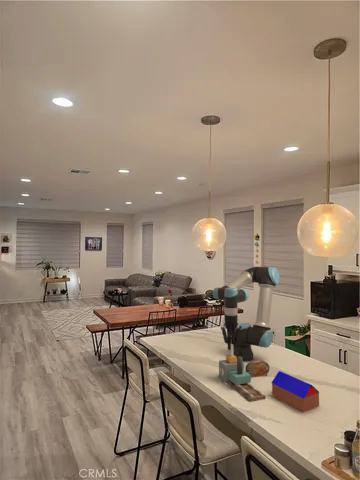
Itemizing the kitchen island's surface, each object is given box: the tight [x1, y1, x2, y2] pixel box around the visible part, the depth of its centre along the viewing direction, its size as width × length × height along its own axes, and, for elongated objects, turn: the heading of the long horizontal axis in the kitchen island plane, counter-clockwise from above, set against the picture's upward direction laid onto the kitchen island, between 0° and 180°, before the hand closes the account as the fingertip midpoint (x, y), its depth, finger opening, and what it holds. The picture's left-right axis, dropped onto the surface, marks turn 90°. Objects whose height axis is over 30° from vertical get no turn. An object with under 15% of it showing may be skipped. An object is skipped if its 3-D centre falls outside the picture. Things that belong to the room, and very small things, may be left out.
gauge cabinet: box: [218, 359, 245, 384], centre depth 183 cm, size 12×8×10 cm, turn 110°
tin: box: [244, 360, 270, 378], centre depth 188 cm, size 15×3×8 cm, turn 105°
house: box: [270, 370, 320, 413], centre depth 158 cm, size 12×20×12 cm, turn 30°
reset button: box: [225, 354, 237, 363], centre depth 183 cm, size 4×4×3 cm
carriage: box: [229, 356, 252, 385], centre depth 174 cm, size 8×9×13 cm
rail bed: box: [228, 380, 267, 403], centre depth 168 cm, size 22×9×2 cm, turn 20°
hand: (231, 355), depth 183 cm, fingers closed
